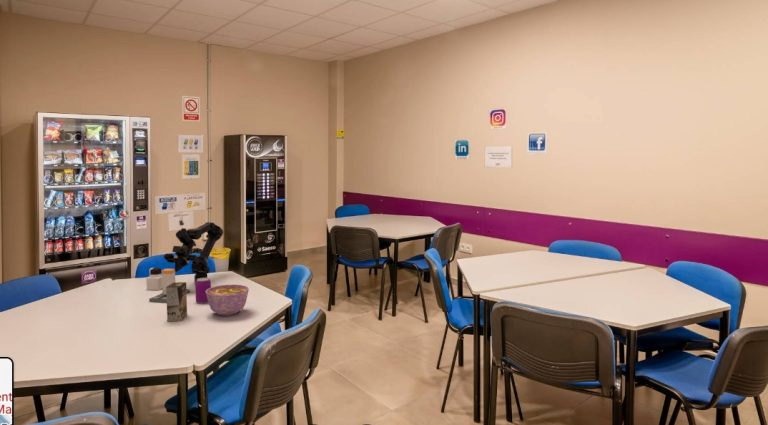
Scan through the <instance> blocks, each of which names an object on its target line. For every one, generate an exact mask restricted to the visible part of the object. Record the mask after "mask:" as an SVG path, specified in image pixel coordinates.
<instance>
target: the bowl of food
mask: <svg viewBox="0 0 768 425" xmlns="http://www.w3.org/2000/svg"><path fill="white" fill-rule="evenodd" d="M249 291H250V288H249V287H248V286H247V285H243V284H221V285H215V286H211V288H209V289H207V290H206V291H205V292H206V295H207V299H208V305H209V308H210V310H211V311H212V312H214V313H216V314H219V315H220V316H223V317H225V316H226V317H227V316H232V315H235V314H237V313H238V312H240V311H242V310H243V309H244V307H245V306H246V303H247V300H248V299H247V298H248V295H249Z"/></svg>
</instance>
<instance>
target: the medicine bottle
mask: <svg viewBox="0 0 768 425" xmlns="http://www.w3.org/2000/svg"><path fill="white" fill-rule="evenodd" d="M148 271H149V276H147V277H146V278H145V281H146V290H147V291H160V290H162V268H161V267H157V266H156V267H151V268H150V269H149V270H148Z"/></svg>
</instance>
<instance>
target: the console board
mask: <svg viewBox="0 0 768 425" xmlns="http://www.w3.org/2000/svg"><path fill="white" fill-rule="evenodd" d="M186 291H187V294H189V293H190V292H191V289H189V288H186ZM148 299H149V300H148V302H149V303H160V304H167V296H166V294H163V292H161V293H159V294H157V295H155V296H153V297H151V298H148Z"/></svg>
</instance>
